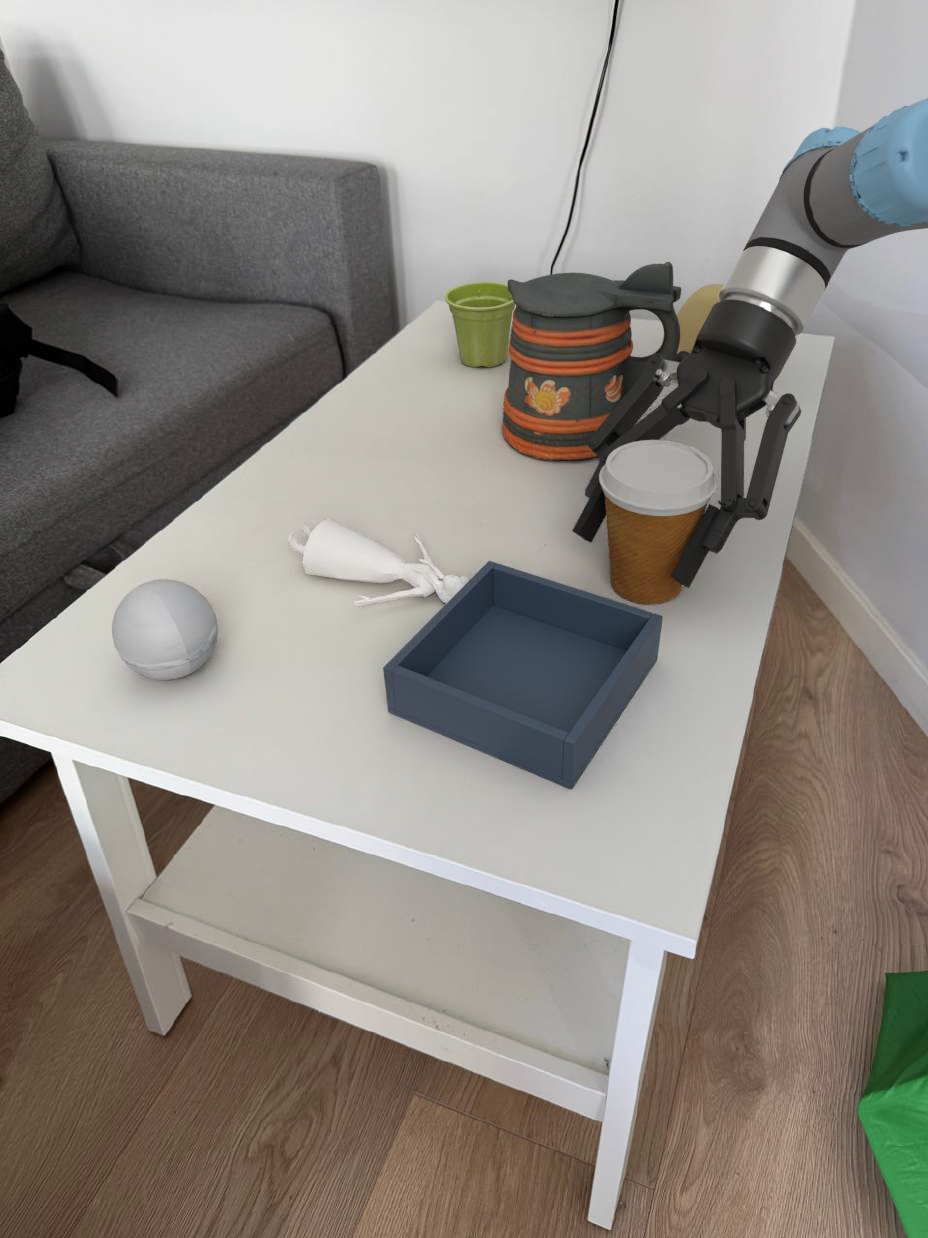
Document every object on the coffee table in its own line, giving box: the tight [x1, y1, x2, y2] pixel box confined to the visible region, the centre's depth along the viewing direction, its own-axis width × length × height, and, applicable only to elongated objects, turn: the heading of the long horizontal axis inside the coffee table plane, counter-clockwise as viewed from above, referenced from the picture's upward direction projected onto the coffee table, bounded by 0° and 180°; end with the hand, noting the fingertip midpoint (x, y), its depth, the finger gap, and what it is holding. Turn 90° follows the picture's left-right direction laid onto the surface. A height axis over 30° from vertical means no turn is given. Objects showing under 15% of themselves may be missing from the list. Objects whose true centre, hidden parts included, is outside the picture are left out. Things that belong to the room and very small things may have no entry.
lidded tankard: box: [501, 261, 682, 462], centre depth 98 cm, size 19×15×20 cm
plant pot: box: [444, 281, 516, 368], centre depth 119 cm, size 9×9×9 cm
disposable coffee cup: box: [599, 439, 718, 605], centre depth 78 cm, size 10×10×12 cm
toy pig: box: [674, 283, 724, 362], centre depth 114 cm, size 10×12×11 cm
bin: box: [382, 560, 664, 790], centre depth 70 cm, size 16×16×5 cm
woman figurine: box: [288, 518, 471, 608], centre depth 82 cm, size 12×4×18 cm
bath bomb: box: [111, 578, 219, 681], centre depth 73 cm, size 8×8×8 cm
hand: (629, 558), depth 77 cm, fingers closed on disposable coffee cup, 9 cm apart
